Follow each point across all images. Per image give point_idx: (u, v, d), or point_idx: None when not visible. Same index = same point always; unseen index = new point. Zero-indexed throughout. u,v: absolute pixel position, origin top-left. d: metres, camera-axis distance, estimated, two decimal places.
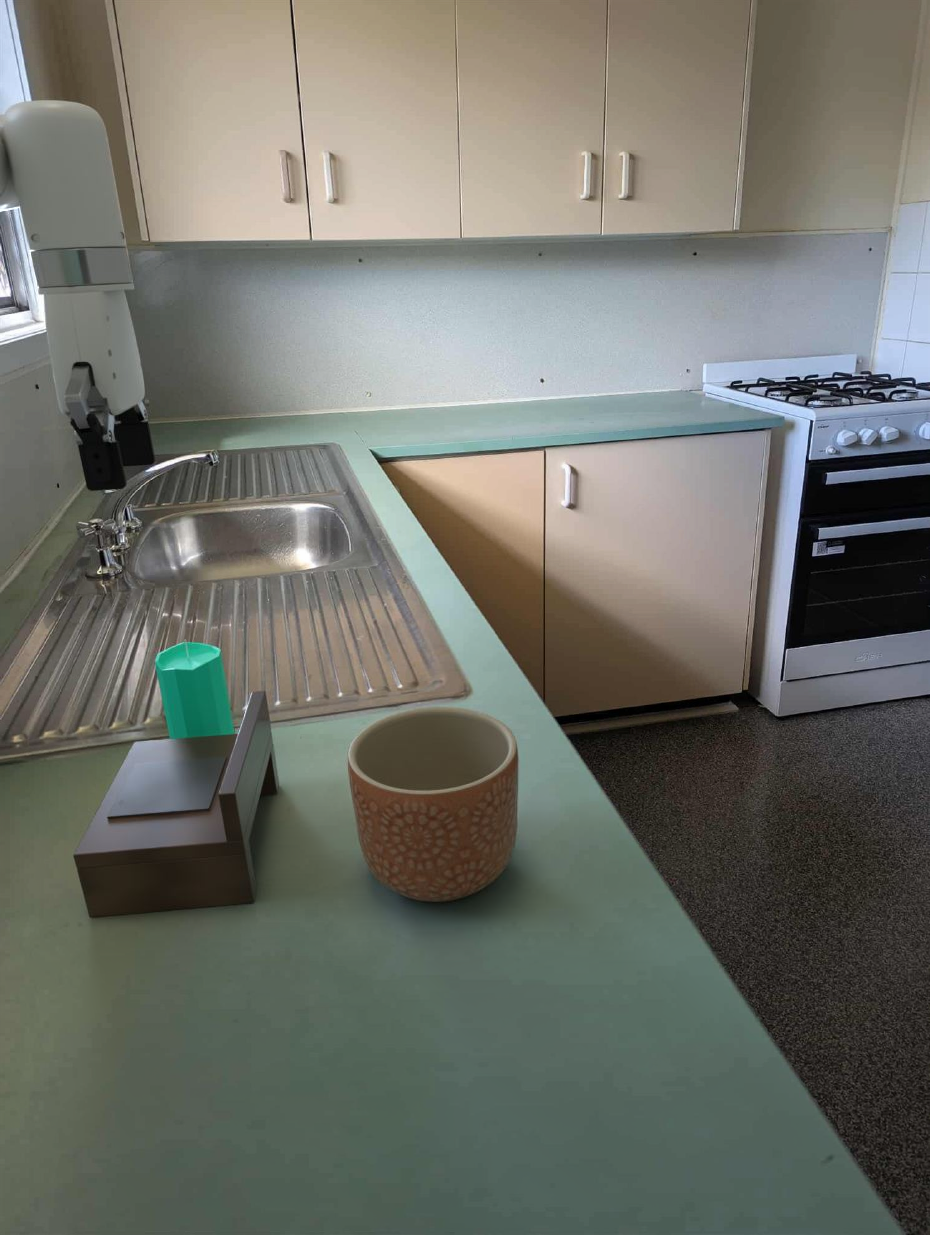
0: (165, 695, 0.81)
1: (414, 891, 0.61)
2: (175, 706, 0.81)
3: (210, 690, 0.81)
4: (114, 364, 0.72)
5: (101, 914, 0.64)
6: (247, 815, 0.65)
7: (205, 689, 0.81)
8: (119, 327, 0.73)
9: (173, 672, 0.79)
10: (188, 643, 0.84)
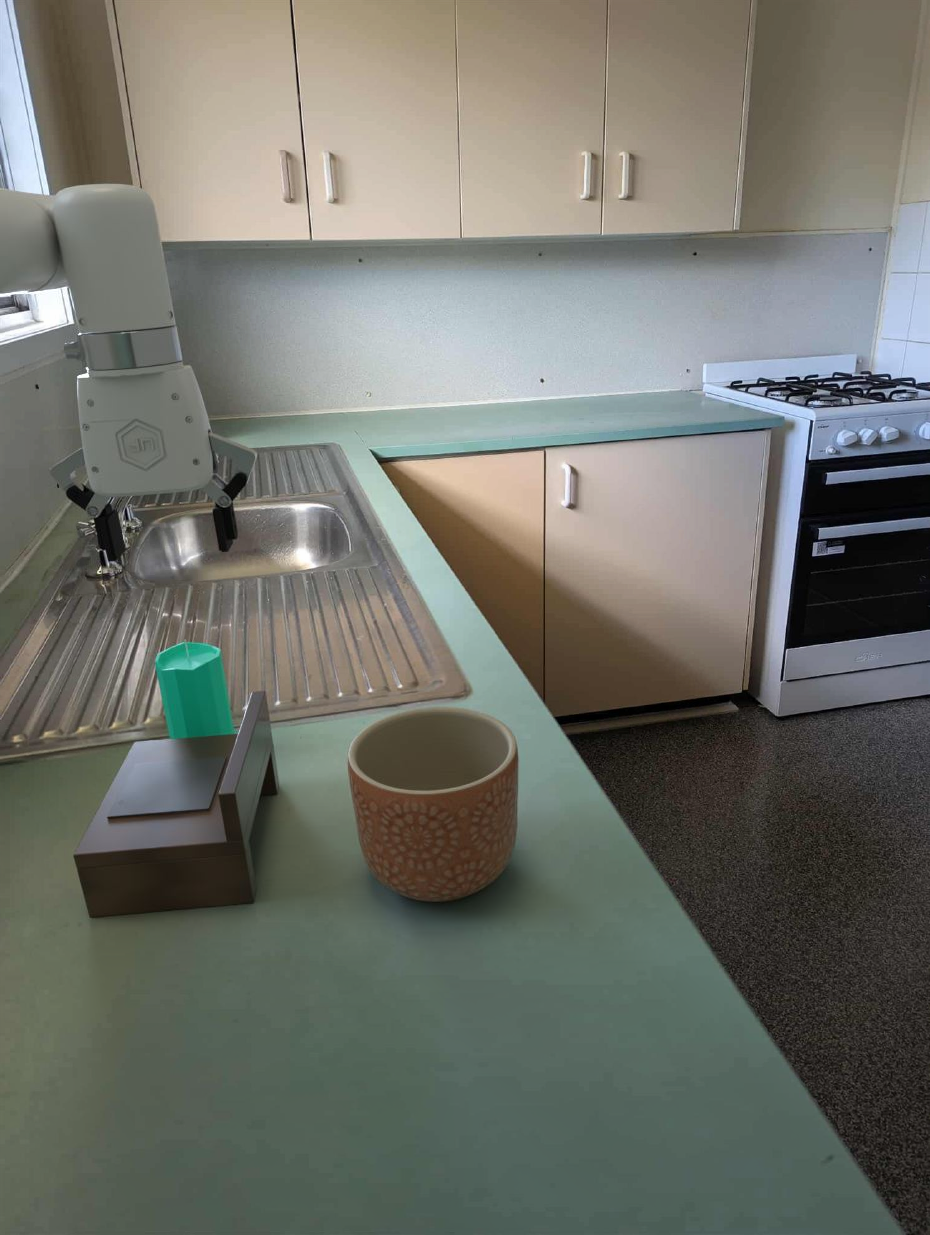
0: (165, 695, 0.81)
1: (414, 891, 0.61)
2: (175, 706, 0.81)
3: (210, 690, 0.81)
4: None
5: (101, 914, 0.64)
6: (247, 815, 0.65)
7: (205, 689, 0.81)
8: None
9: (173, 672, 0.79)
10: (188, 643, 0.84)
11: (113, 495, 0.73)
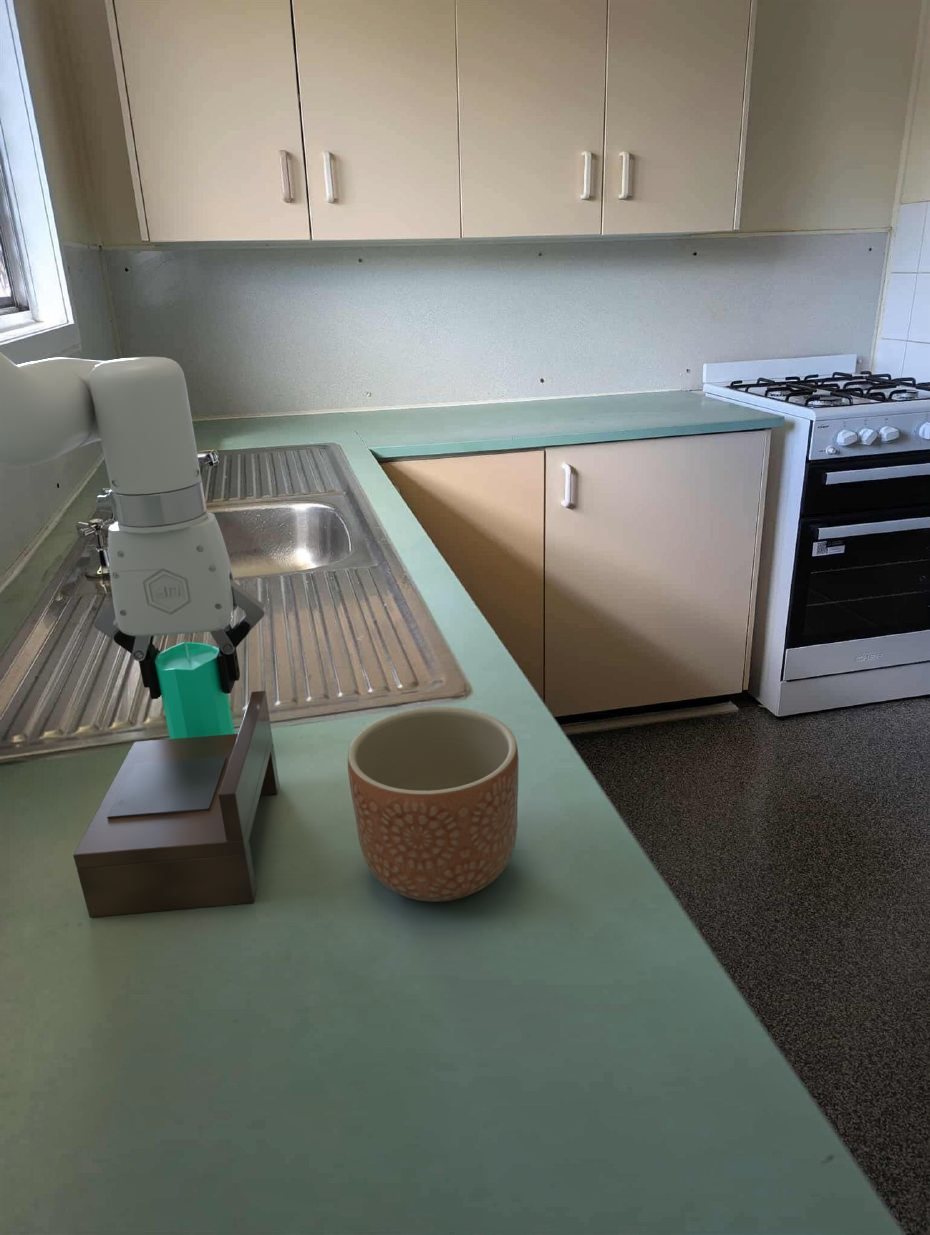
0: (165, 695, 0.81)
1: (414, 891, 0.61)
2: (175, 706, 0.81)
3: (210, 690, 0.81)
4: None
5: (101, 914, 0.64)
6: (247, 815, 0.65)
7: (205, 689, 0.81)
8: None
9: (173, 672, 0.79)
10: (188, 643, 0.84)
11: (139, 635, 0.78)
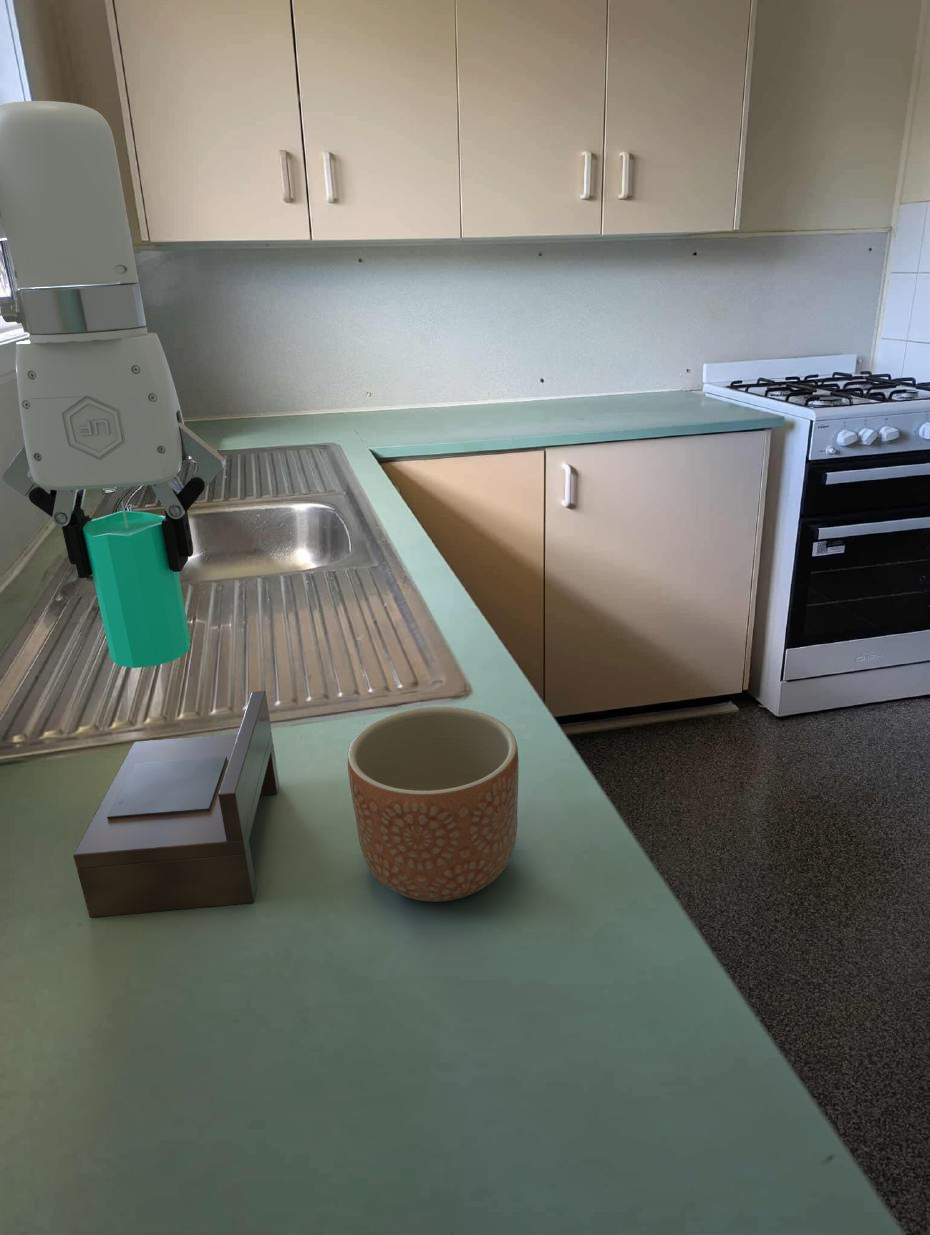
0: (96, 572, 0.63)
1: (414, 891, 0.61)
2: (109, 586, 0.63)
3: (154, 566, 0.63)
4: None
5: (101, 914, 0.64)
6: (247, 815, 0.65)
7: (147, 564, 0.63)
8: None
9: (105, 539, 0.62)
10: (128, 511, 0.67)
11: (60, 488, 0.60)
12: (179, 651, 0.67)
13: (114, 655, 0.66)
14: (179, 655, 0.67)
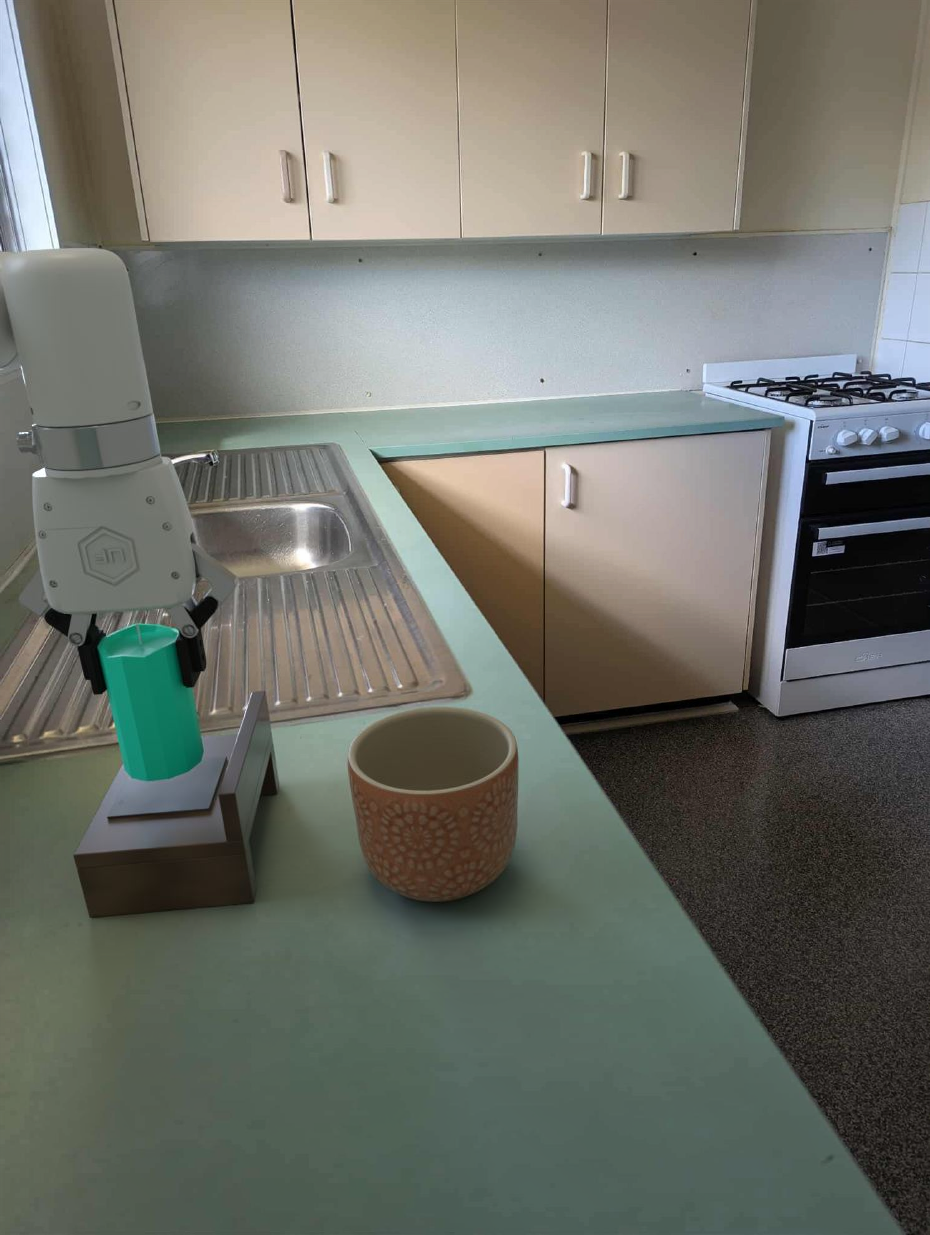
0: (110, 690, 0.64)
1: (414, 891, 0.61)
2: (123, 704, 0.64)
3: (167, 683, 0.64)
4: None
5: (101, 914, 0.64)
6: (247, 815, 0.65)
7: (161, 682, 0.64)
8: None
9: (119, 660, 0.62)
10: (141, 624, 0.67)
11: (75, 613, 0.61)
12: (192, 762, 0.67)
13: (128, 768, 0.67)
14: (192, 766, 0.67)
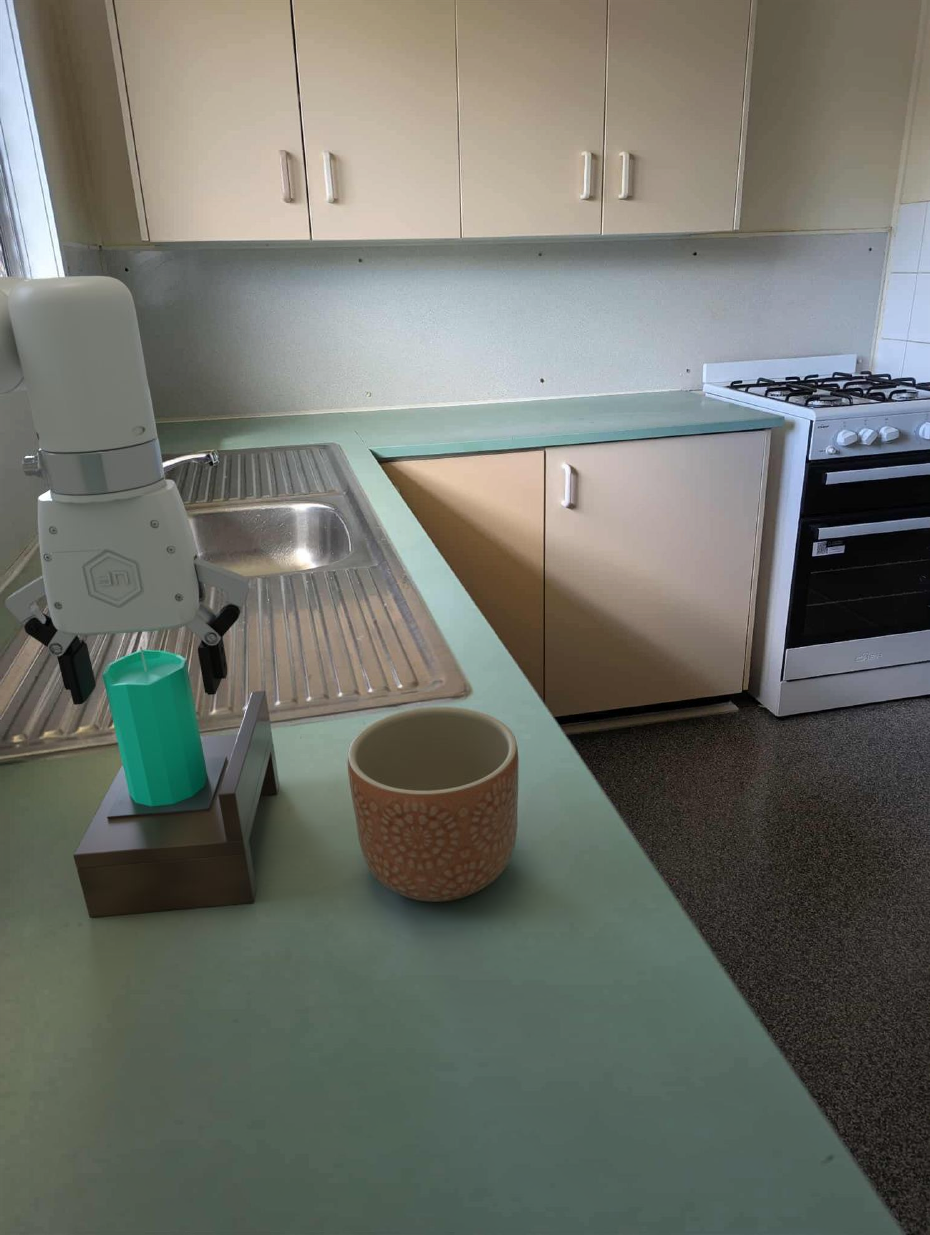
0: (115, 716, 0.65)
1: (414, 891, 0.61)
2: (128, 730, 0.65)
3: (172, 710, 0.65)
4: None
5: (101, 914, 0.64)
6: (247, 815, 0.65)
7: (165, 709, 0.65)
8: None
9: (124, 688, 0.63)
10: (146, 650, 0.68)
11: (79, 634, 0.62)
12: (196, 787, 0.68)
13: (133, 792, 0.67)
14: (196, 791, 0.68)
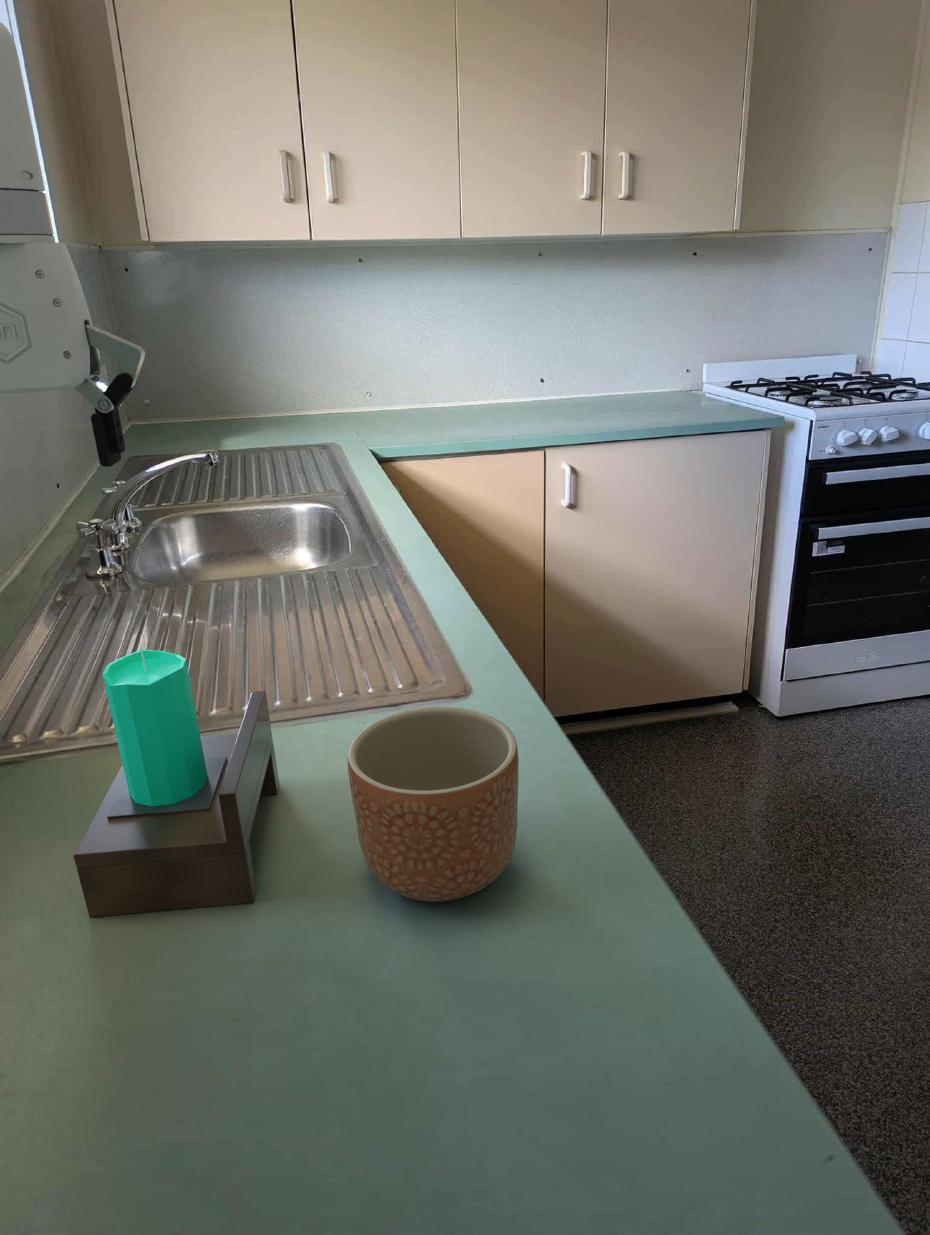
0: (115, 716, 0.65)
1: (414, 891, 0.61)
2: (128, 730, 0.65)
3: (172, 710, 0.65)
4: None
5: (101, 914, 0.64)
6: (247, 815, 0.65)
7: (165, 709, 0.65)
8: None
9: (124, 688, 0.63)
10: (146, 650, 0.68)
11: None
12: (196, 787, 0.68)
13: (133, 792, 0.67)
14: (196, 791, 0.68)
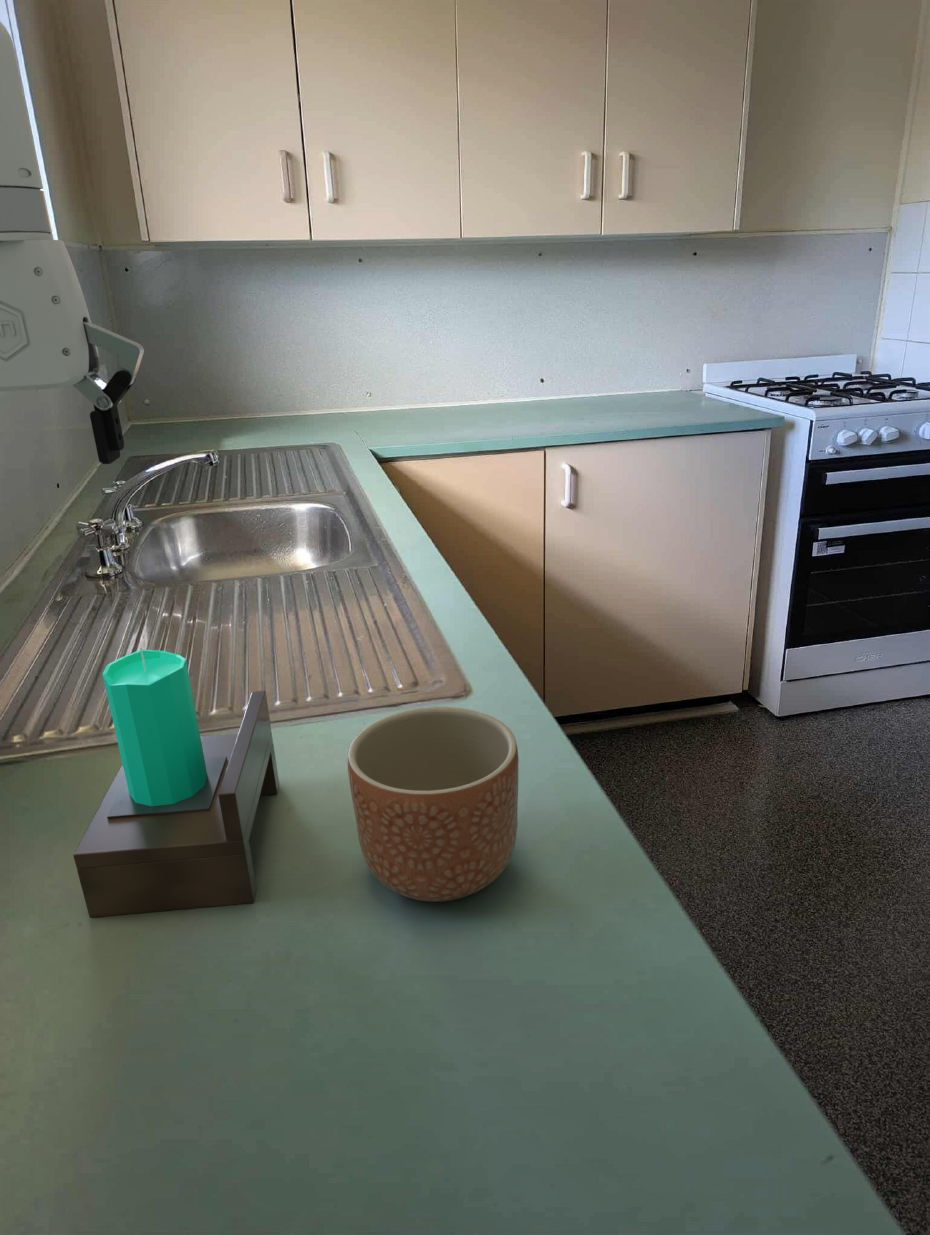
0: (115, 716, 0.65)
1: (414, 891, 0.61)
2: (128, 730, 0.65)
3: (172, 710, 0.65)
4: None
5: (101, 914, 0.64)
6: (247, 815, 0.65)
7: (165, 709, 0.65)
8: None
9: (124, 688, 0.63)
10: (146, 650, 0.68)
11: None
12: (196, 787, 0.68)
13: (133, 792, 0.67)
14: (196, 791, 0.68)
